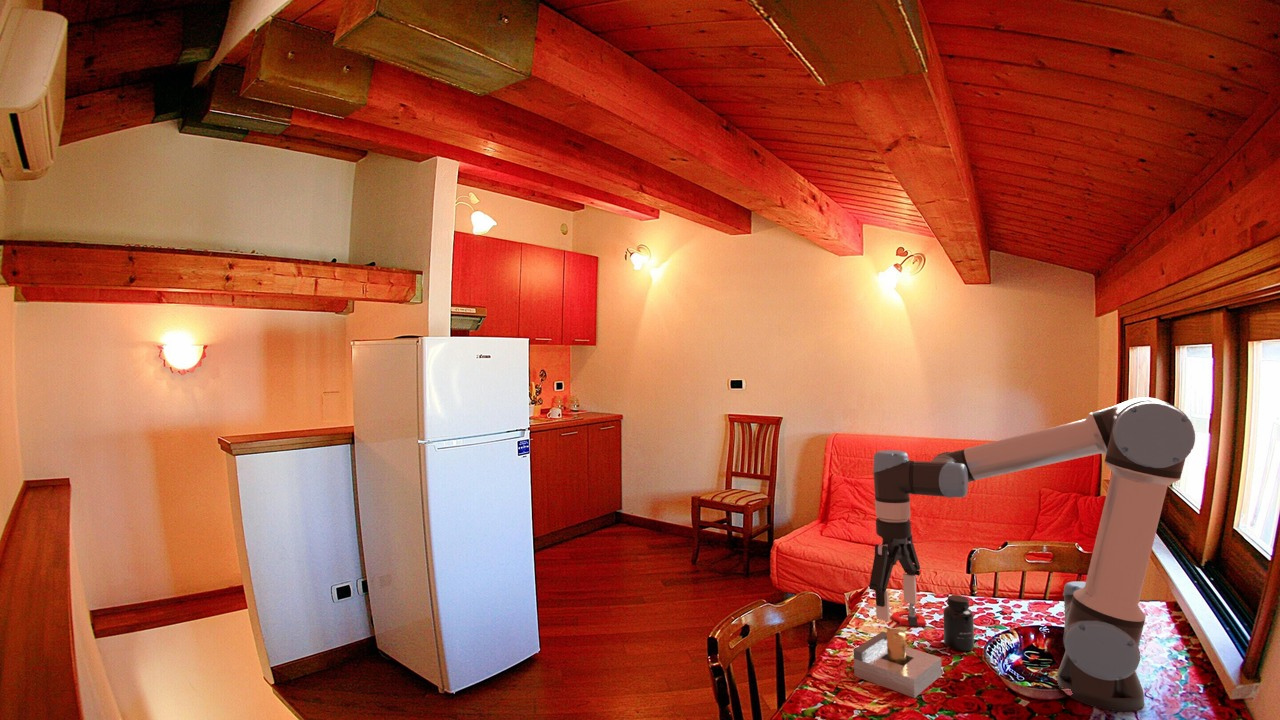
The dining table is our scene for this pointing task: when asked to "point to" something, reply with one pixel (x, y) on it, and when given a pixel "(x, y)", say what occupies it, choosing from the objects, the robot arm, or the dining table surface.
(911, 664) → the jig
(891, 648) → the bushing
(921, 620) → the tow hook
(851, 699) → the dining table surface
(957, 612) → the supplement bottle
